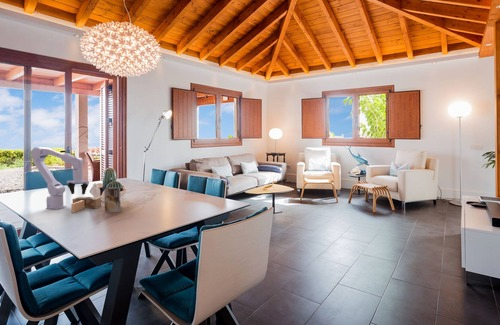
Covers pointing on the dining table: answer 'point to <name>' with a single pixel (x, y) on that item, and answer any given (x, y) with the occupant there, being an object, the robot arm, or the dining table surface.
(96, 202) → the wooden block
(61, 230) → the dining table surface
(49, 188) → the robot arm
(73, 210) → the tall wooden plank
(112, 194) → the coffee box
